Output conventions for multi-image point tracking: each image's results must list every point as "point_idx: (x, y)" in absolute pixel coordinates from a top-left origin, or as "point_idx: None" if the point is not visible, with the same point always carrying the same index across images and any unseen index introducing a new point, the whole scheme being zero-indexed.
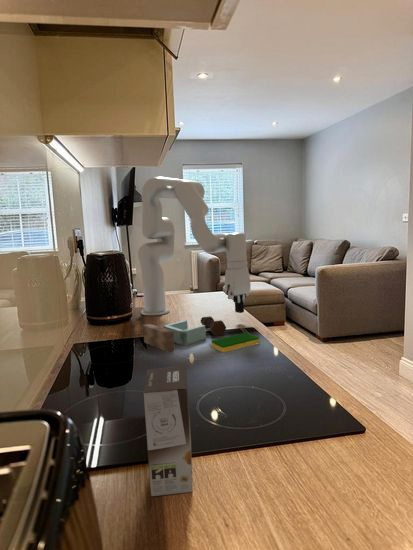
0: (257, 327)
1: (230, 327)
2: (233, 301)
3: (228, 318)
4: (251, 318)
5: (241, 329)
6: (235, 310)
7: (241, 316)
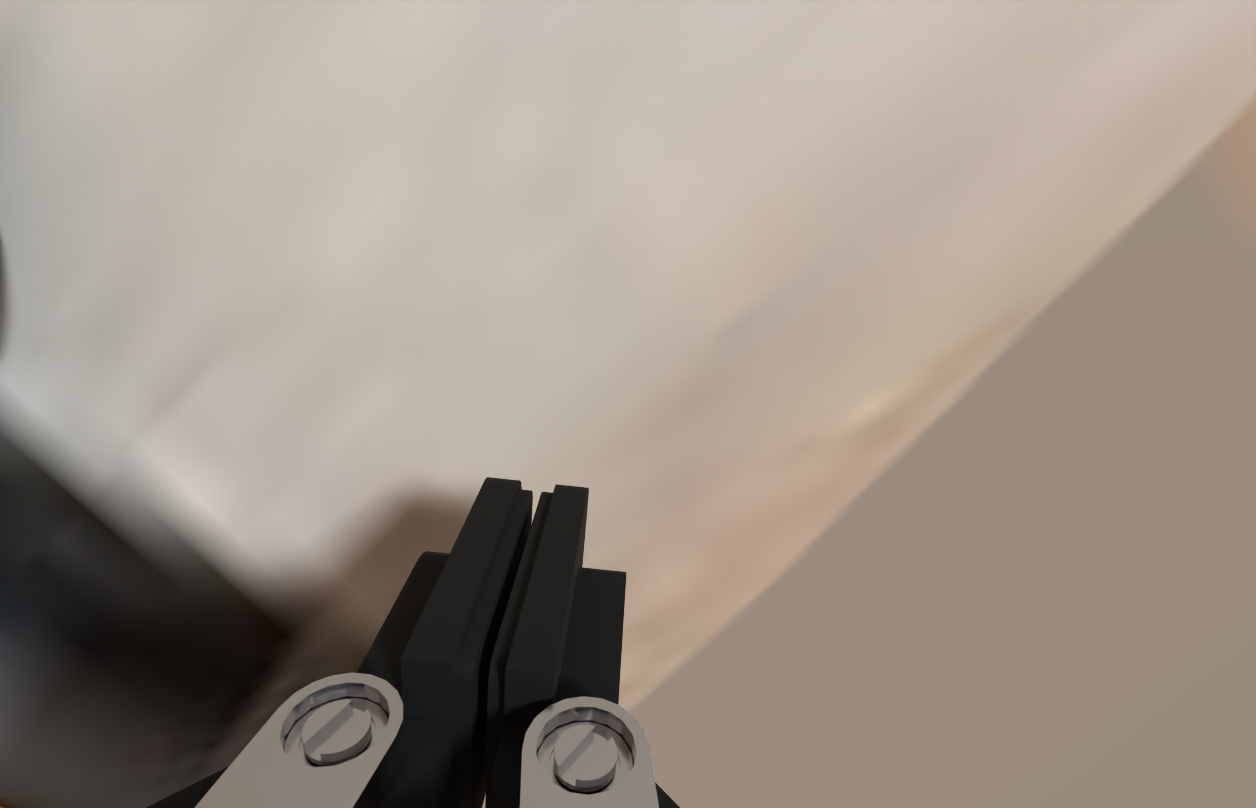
0: None
1: (250, 493)
2: (287, 704)
3: (669, 51)
4: (888, 455)
5: (302, 656)
6: (479, 498)
7: (954, 200)
